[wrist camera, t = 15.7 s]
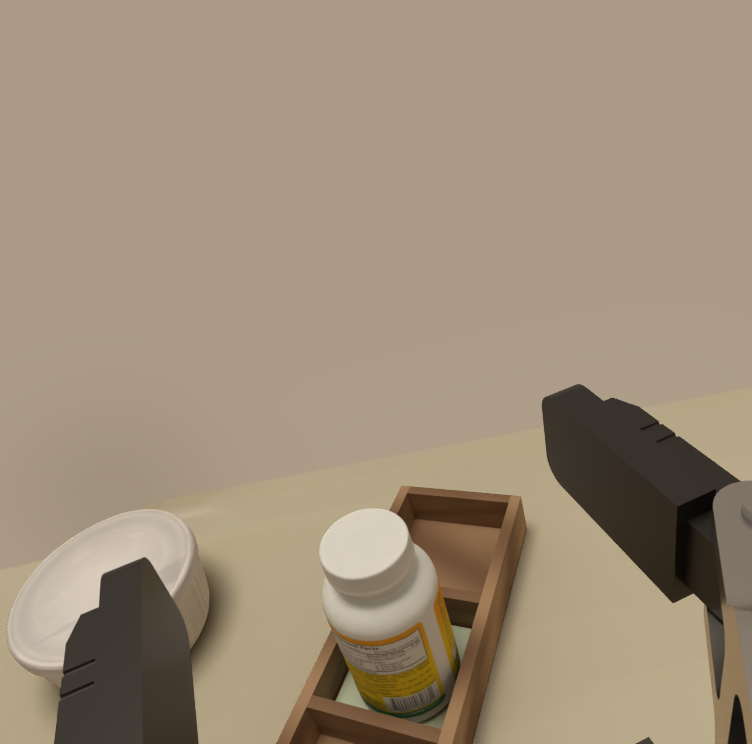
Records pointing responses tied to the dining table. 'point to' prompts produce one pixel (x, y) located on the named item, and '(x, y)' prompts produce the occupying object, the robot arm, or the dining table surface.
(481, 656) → the wooden compartment tray
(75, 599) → the ramekin
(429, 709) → the supplement bottle
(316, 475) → the dining table surface
